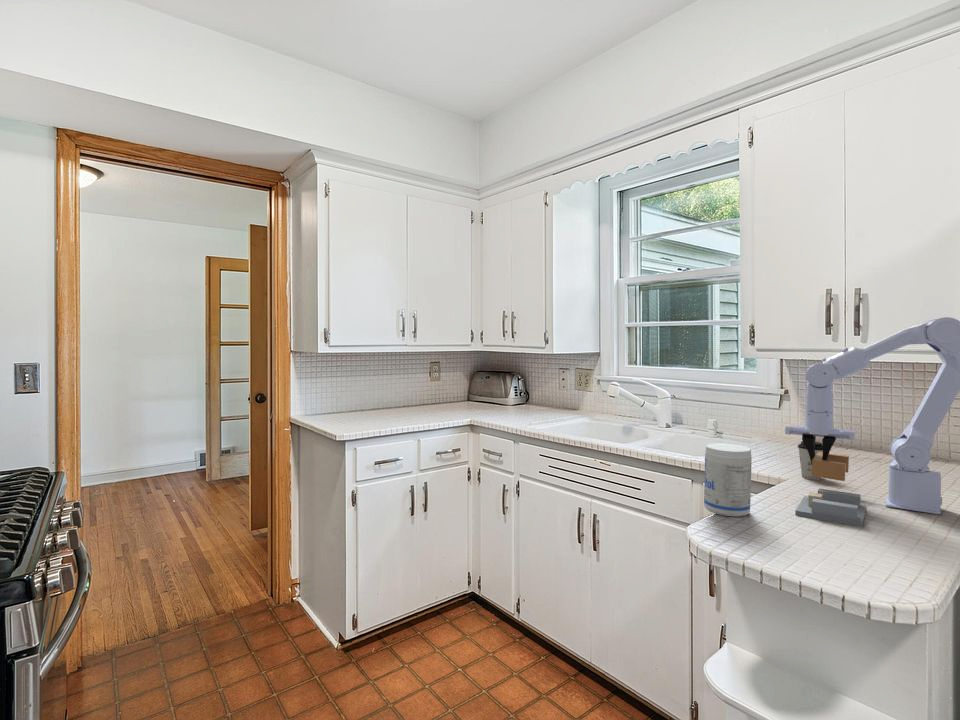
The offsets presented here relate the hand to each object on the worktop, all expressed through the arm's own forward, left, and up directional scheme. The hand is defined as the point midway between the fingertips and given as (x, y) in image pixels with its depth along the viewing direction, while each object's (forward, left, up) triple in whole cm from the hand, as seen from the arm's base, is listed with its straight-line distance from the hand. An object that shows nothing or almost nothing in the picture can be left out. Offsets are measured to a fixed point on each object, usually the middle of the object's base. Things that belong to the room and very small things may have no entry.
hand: (818, 465), depth 130 cm
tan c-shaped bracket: (-2, 0, -2) cm, 3 cm away
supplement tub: (+15, +28, -8) cm, 32 cm away
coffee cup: (+4, -19, -8) cm, 21 cm away
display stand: (-4, +15, -7) cm, 17 cm away
